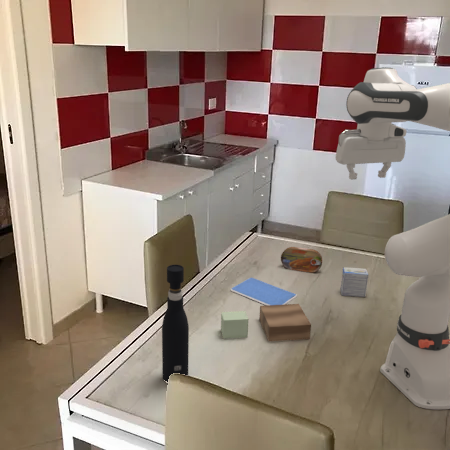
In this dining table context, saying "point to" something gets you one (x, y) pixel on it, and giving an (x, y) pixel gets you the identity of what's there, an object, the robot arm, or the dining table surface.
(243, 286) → the blue rectangular panel
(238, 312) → the sage brick
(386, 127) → the robot arm
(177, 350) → the black bottle
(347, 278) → the medicine box
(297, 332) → the walnut brick
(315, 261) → the tin
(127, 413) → the dining table surface
